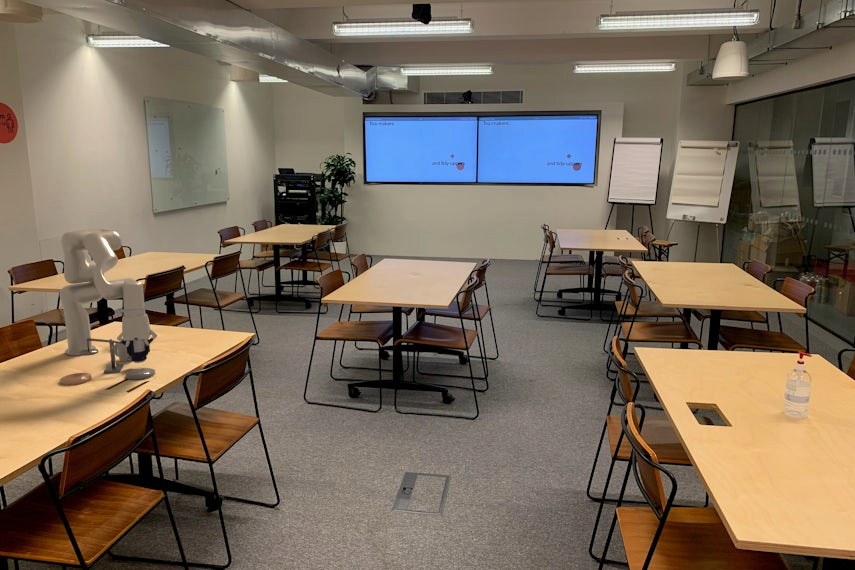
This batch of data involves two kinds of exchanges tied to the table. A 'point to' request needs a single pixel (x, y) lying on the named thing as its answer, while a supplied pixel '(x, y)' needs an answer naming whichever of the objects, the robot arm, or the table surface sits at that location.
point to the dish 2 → (140, 373)
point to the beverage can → (138, 350)
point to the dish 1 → (75, 379)
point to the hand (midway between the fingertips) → (138, 354)
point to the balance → (113, 366)
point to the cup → (121, 352)
